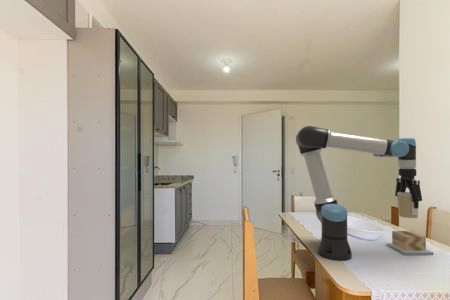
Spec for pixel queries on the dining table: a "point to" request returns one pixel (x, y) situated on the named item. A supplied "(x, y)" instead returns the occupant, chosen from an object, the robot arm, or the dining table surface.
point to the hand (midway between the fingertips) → (408, 212)
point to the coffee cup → (405, 205)
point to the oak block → (409, 240)
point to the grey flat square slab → (409, 251)
